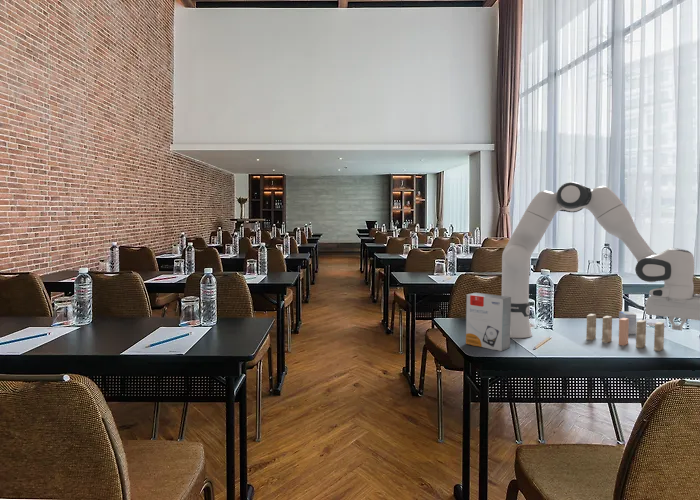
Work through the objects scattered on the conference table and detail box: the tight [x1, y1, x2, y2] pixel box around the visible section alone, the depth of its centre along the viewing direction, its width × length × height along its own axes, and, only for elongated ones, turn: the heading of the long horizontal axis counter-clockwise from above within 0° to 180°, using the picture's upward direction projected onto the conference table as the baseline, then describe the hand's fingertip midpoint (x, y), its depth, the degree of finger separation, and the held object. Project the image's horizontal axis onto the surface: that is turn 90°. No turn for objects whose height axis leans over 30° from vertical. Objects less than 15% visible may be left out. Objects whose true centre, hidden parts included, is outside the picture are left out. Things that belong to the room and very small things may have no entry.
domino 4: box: [635, 319, 647, 349], centre depth 182 cm, size 2×5×10 cm, turn 135°
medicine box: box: [618, 310, 637, 335], centre depth 206 cm, size 8×4×9 cm, turn 168°
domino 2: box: [601, 315, 613, 343], centre depth 190 cm, size 2×5×10 cm, turn 135°
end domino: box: [653, 321, 665, 352], centre depth 177 cm, size 2×5×10 cm, turn 135°
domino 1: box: [585, 313, 597, 341], centre depth 194 cm, size 2×5×10 cm, turn 135°
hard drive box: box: [465, 292, 511, 352], centre depth 183 cm, size 16×8×20 cm, turn 46°
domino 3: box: [618, 318, 629, 346], centre depth 186 cm, size 2×5×10 cm, turn 135°
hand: (677, 329), depth 173 cm, fingers closed
